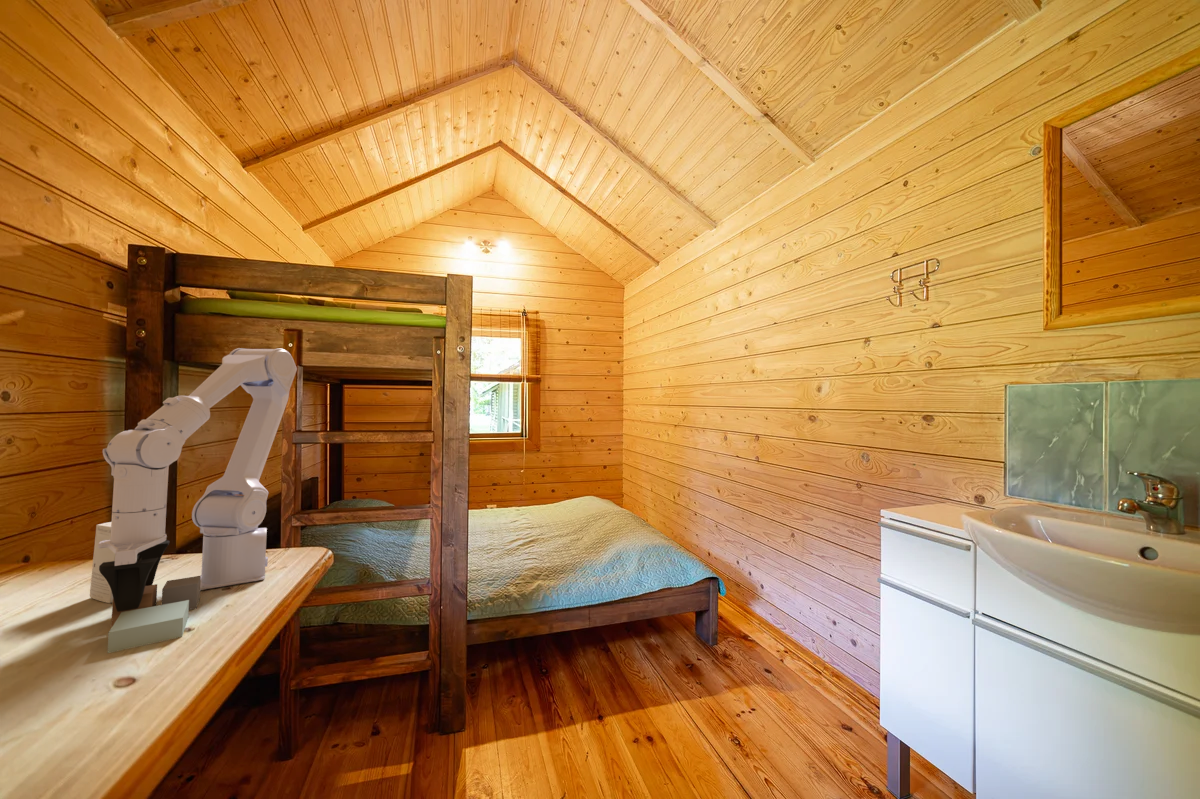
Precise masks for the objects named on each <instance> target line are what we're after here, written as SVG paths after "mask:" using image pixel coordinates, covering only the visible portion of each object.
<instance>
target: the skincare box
mask: <svg viewBox="0 0 1200 799" xmlns="http://www.w3.org/2000/svg"><path fill="white" fill-rule="evenodd" d="M111 522H112V521H109V522H103V523H99V524H96V525H95V537H94V547H93V558H92V568H91V577H90V578H91V579H90V589H89V598H90V599H93V600H96V601H100V602H103V603H107V604H113V595H112V591H111V588H110V586H109V584H108V582H107V580H106V579H105V578H104V576H103V575H102V574H101V573H100V571H99V566H100V565H101V564H102V563H103V562H111V561H115V553H114V552H113V551H112V550H110V549H109V548H98V543H100V542H101V541H105V540H110V539H111Z"/></svg>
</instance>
